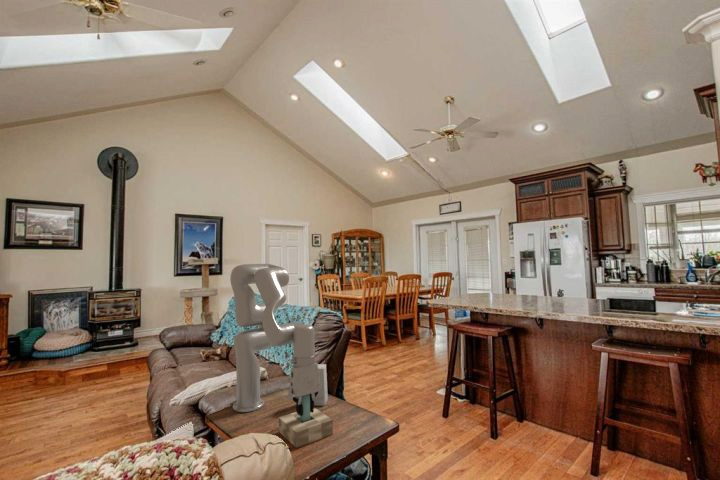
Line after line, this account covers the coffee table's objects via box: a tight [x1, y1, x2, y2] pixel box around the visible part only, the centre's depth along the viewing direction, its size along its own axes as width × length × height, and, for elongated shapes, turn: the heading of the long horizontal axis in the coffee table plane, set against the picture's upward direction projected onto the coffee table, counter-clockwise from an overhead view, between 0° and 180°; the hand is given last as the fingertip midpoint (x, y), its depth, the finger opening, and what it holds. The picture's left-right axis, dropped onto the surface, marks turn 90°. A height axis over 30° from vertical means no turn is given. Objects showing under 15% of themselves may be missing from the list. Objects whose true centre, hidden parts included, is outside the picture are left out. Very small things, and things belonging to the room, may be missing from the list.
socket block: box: [278, 407, 334, 449], centre depth 123 cm, size 14×14×5 cm
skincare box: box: [314, 363, 329, 407], centre depth 149 cm, size 8×7×16 cm
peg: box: [300, 394, 311, 423], centre depth 123 cm, size 4×4×12 cm
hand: (305, 412), depth 123 cm, fingers closed on peg, 3 cm apart
